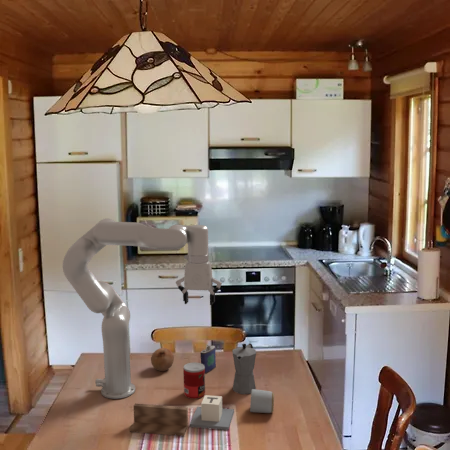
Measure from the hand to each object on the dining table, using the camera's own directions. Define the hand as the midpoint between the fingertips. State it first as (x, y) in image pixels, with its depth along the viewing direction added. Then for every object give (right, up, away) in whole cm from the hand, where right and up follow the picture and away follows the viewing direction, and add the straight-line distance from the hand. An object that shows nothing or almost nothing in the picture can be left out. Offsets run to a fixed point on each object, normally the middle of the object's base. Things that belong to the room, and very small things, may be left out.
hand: (199, 303), depth 204 cm
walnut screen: (-12, -38, -25) cm, 47 cm away
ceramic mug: (+22, -36, -12) cm, 44 cm away
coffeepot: (+17, -33, +5) cm, 38 cm away
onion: (-16, -31, +22) cm, 41 cm away
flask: (+3, -31, +21) cm, 37 cm away
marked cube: (+5, -36, -19) cm, 41 cm away
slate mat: (+5, -37, -18) cm, 41 cm away
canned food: (-2, -34, 0) cm, 34 cm away
